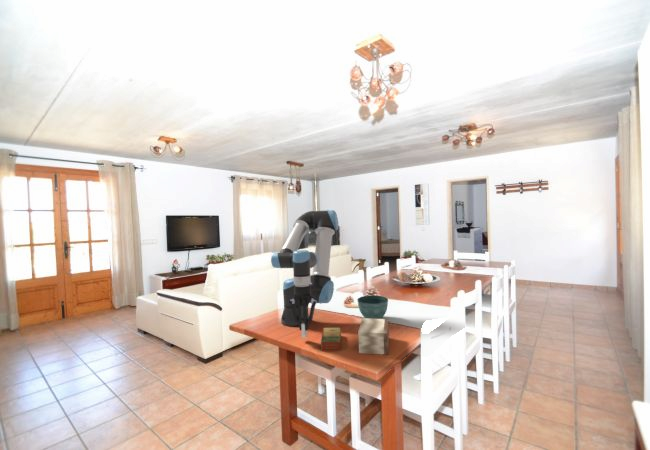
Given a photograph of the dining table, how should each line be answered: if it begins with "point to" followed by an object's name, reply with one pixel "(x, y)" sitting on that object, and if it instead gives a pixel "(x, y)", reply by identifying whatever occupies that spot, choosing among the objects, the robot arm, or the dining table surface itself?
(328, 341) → the carton
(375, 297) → the teal bowl
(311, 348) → the dining table surface
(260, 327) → the dining table surface
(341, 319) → the dining table surface
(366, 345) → the marbled stone block
